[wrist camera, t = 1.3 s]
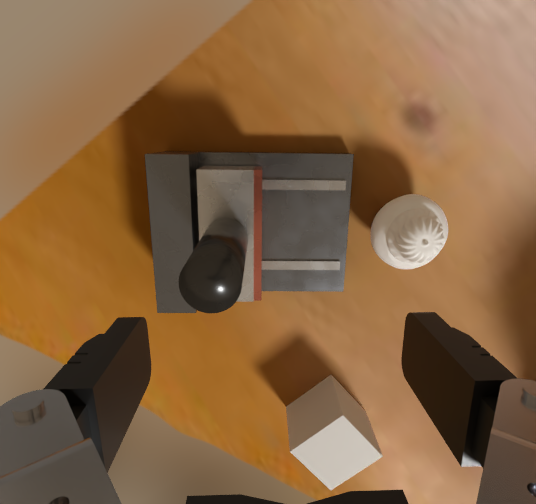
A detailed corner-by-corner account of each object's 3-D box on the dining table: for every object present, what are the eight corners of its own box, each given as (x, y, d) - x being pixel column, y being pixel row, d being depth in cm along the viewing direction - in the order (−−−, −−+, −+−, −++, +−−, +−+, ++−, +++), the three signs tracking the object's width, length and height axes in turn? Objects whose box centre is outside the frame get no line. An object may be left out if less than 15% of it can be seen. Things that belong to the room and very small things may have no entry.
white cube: (321, 440, 41) (330, 490, 35) (285, 405, 39) (289, 451, 34) (365, 410, 40) (383, 456, 34) (331, 373, 38) (342, 415, 32)
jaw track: (166, 151, 31) (144, 154, 26) (349, 153, 32) (368, 156, 26) (174, 284, 35) (157, 312, 29) (339, 285, 35) (355, 313, 29)
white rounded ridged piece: (422, 256, 35) (461, 285, 28) (356, 255, 34) (379, 283, 28) (433, 189, 33) (477, 202, 26) (364, 187, 33) (390, 200, 26)
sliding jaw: (204, 165, 30) (164, 184, 17) (262, 166, 30) (262, 185, 18) (208, 282, 33) (176, 369, 20) (261, 282, 33) (260, 369, 20)
